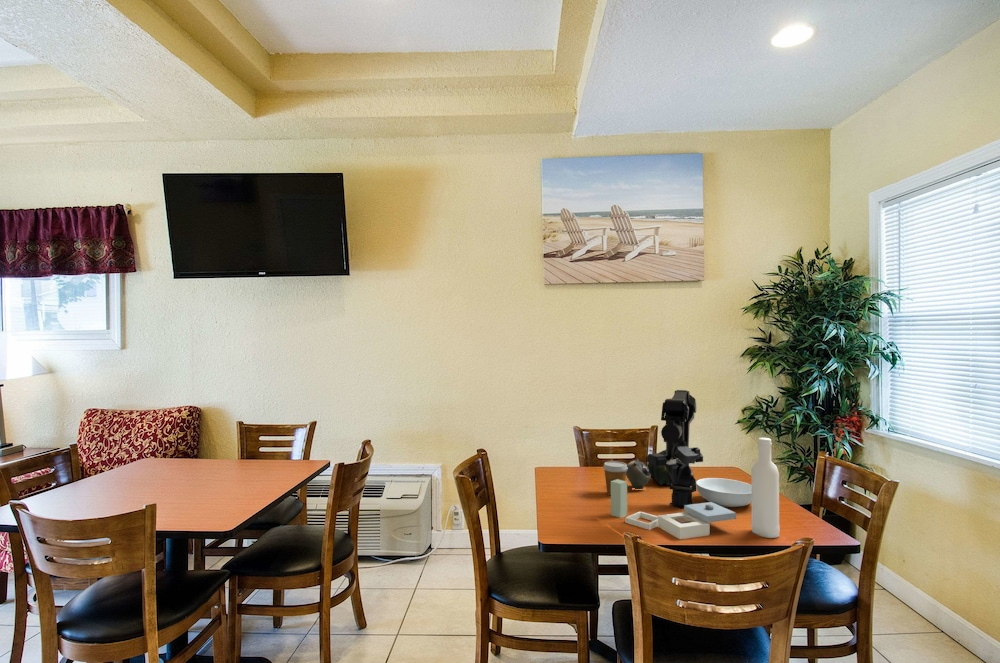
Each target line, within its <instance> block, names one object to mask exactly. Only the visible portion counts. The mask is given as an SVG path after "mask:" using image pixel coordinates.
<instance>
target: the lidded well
mask: <svg viewBox="0 0 1000 663" xmlns="http://www.w3.org/2000/svg"><path fill="white" fill-rule="evenodd" d="M657 516H658V526H657V527H658V528H659V529H661V530H663V531H664V532H666V533H668V534H670V535H671V536H673V537H675V538H677V539H679V540H685V539H693V538H701V537H706V536H707V537H709V536H710V531H711V530H710V529H711V528H710V527H711V526H710V523H711V522H710V523H707V522H705V521H703V520H701V519H699V518H697V517H695V516H693V515H691V514H689V513H687V512H685V511H683V512H682V511H681V512H676V513H670V514H669V513H667V514H661V515H660V514H659V515H657ZM683 517H685V518H687V519H689V520H690V521H691V523H683V524H681V523H679V522H677V521H675V518H683Z"/></svg>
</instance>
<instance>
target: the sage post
mask: <svg viewBox="0 0 1000 663" xmlns="http://www.w3.org/2000/svg"><path fill="white" fill-rule="evenodd" d="M610 516H613V517H616V518H619V519H621V518H624V517H627V516H628V481H627V480H625V481H623V480H619V479H616V480H613V481H611V496H610Z"/></svg>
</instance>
